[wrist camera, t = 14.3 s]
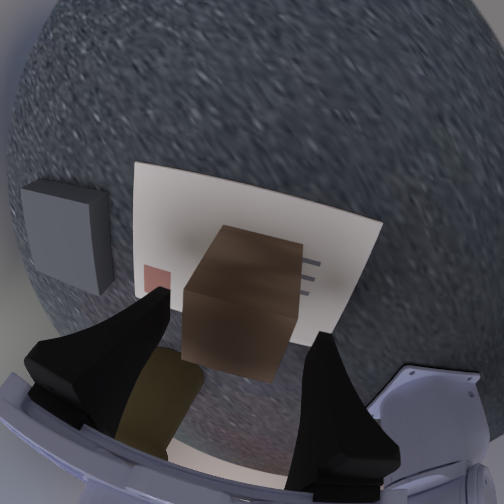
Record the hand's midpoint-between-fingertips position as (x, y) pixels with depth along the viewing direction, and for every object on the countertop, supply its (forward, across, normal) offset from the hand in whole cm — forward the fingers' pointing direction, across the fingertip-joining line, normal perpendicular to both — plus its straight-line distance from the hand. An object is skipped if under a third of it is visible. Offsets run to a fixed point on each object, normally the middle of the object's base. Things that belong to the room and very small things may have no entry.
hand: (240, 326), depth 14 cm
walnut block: (+5, 0, 0) cm, 5 cm away
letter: (+5, +1, 0) cm, 5 cm away
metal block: (+5, +14, +1) cm, 15 cm away
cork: (+5, +5, +13) cm, 15 cm away
